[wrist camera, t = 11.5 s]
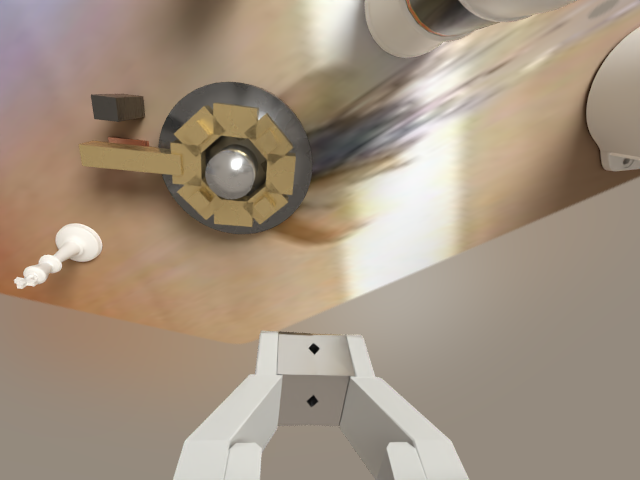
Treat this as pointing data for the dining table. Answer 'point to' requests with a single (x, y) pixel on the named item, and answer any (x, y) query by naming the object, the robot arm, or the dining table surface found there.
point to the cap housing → (223, 146)
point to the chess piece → (64, 253)
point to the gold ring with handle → (191, 162)
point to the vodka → (441, 20)
